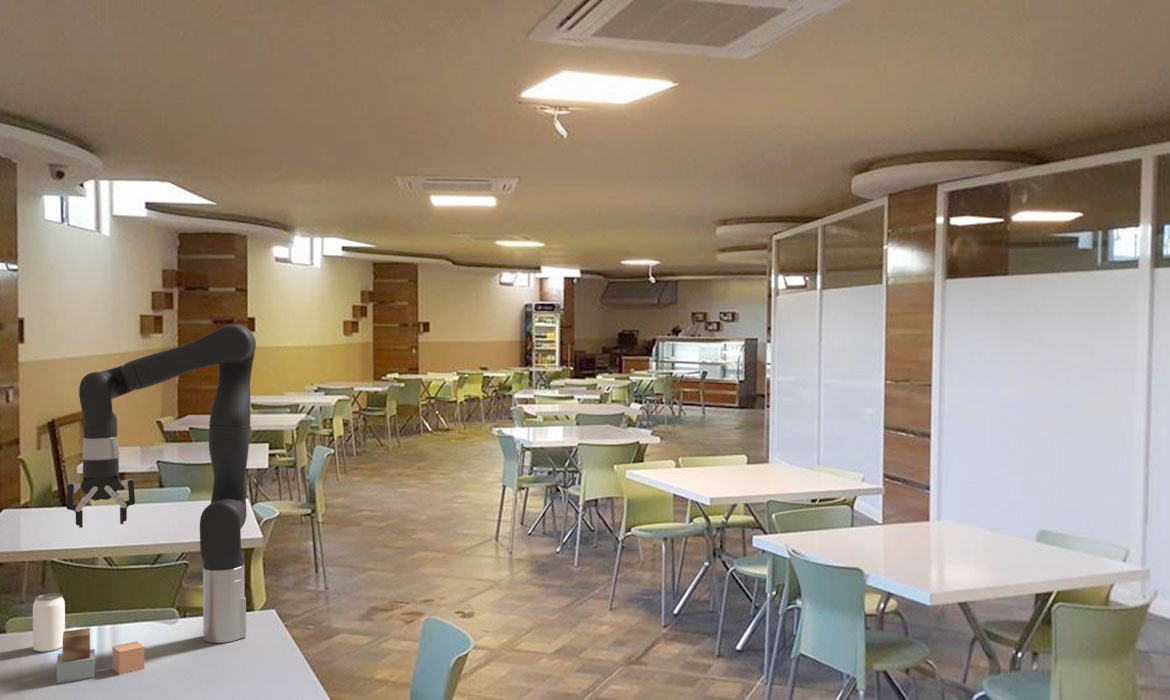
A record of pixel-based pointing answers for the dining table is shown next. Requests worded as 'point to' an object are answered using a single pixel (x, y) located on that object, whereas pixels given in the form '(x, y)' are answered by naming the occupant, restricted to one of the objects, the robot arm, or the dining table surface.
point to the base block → (75, 668)
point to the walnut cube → (76, 644)
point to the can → (48, 622)
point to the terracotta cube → (128, 657)
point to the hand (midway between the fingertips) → (101, 525)
